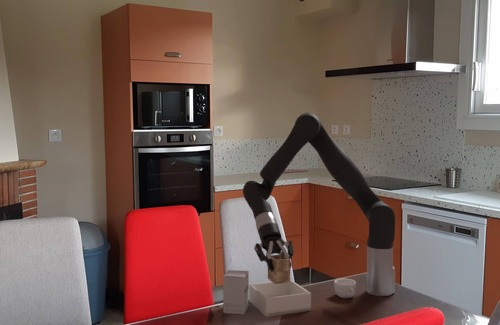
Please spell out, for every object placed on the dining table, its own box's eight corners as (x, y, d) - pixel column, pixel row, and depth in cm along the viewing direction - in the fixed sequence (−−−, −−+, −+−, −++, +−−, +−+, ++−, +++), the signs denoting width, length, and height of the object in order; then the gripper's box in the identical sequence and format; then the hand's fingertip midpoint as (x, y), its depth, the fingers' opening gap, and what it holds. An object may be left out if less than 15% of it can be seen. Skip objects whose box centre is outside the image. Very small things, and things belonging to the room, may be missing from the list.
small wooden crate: (282, 277, 175) (282, 254, 175) (290, 282, 169) (290, 258, 169) (267, 278, 174) (267, 255, 173) (275, 284, 168) (275, 260, 167)
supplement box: (244, 314, 164) (244, 276, 163) (222, 313, 165) (222, 275, 165) (249, 307, 171) (249, 270, 170) (228, 305, 173) (227, 269, 172)
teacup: (330, 293, 184) (330, 279, 184) (349, 291, 186) (349, 277, 186) (342, 303, 175) (343, 287, 174) (362, 300, 177) (363, 285, 176)
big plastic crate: (290, 295, 182) (290, 279, 182) (310, 310, 167) (311, 293, 167) (249, 301, 177) (249, 284, 176) (266, 317, 162) (266, 298, 161)
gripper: (251, 223, 175) (264, 266, 164) (289, 220, 180) (303, 262, 169) (246, 235, 180) (258, 277, 170) (283, 232, 185) (296, 273, 175)
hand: (281, 269), depth 170 cm, fingers closed on small wooden crate, 5 cm apart
